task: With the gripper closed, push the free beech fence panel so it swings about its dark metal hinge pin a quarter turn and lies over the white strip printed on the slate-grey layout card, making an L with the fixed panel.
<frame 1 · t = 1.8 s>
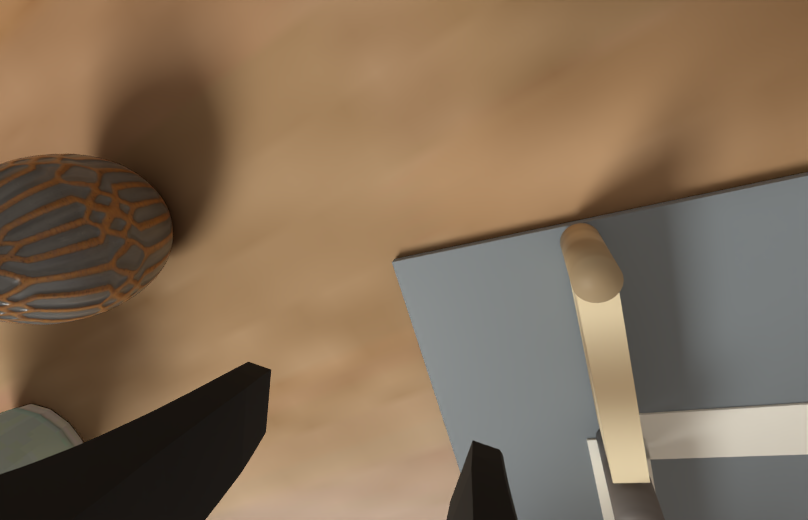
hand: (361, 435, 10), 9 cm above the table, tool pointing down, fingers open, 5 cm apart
disposable coffee cup: (57, 436, 31), on the table
fence panel: (605, 355, 15), point 3 cm above the table, hinge at 0.0°
layout card: (661, 409, 18), on the table
vase: (141, 214, 21), on the table
fence fixed: (613, 430, 19), resting on layout card
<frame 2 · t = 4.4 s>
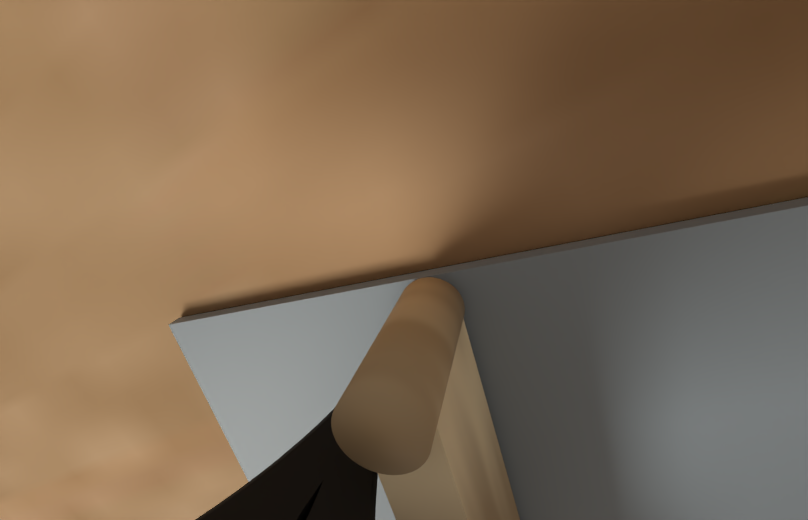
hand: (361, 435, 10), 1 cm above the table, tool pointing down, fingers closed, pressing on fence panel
fence panel: (465, 517, 8), point 3 cm above the table, hinge at 0.0°, touching gripper
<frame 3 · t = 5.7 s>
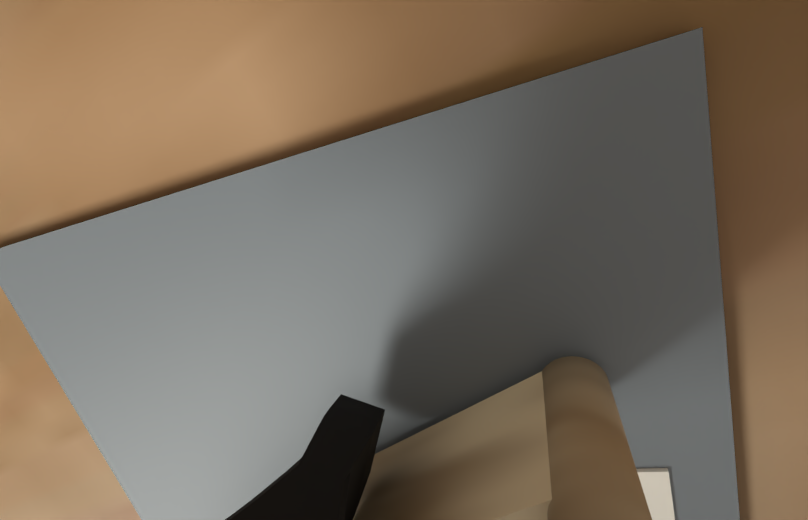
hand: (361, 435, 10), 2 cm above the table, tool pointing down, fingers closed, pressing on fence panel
fence panel: (423, 512, 9), point 3 cm above the table, hinge at -66.1°, touching gripper
layout card: (353, 467, 13), on the table
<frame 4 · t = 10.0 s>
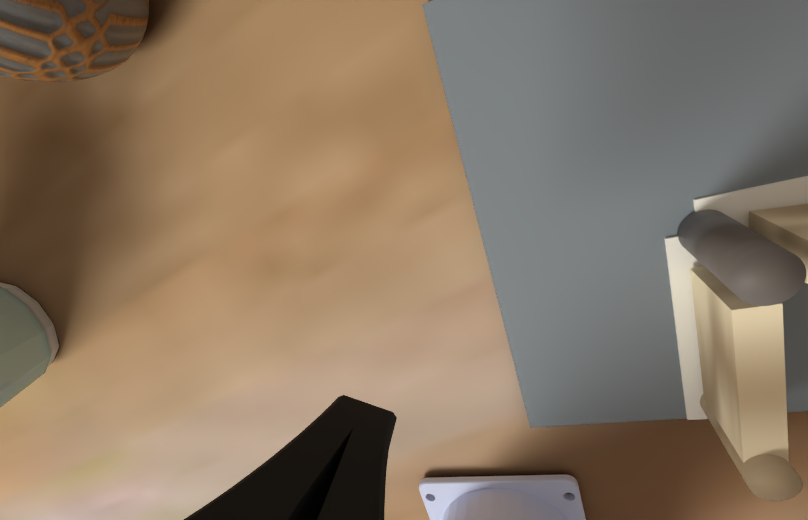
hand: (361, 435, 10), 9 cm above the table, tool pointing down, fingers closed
disposable coffee cup: (26, 323, 27), on the table
layout card: (764, 186, 14), on the table
fence fixed: (698, 227, 15), resting on layout card
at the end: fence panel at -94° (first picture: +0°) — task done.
